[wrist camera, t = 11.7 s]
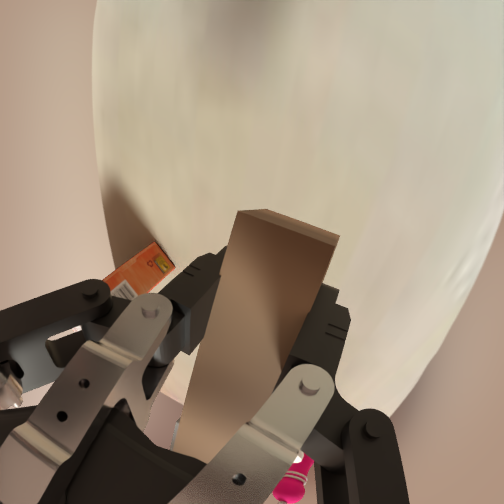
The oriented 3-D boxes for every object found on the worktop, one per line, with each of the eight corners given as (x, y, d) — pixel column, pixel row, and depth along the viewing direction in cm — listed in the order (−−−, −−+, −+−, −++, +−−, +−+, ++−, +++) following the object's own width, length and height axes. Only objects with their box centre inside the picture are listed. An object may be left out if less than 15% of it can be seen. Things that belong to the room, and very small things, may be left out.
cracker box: (178, 269, 48) (128, 304, 60) (155, 239, 47) (111, 282, 60) (120, 322, 37) (84, 345, 50) (91, 287, 36) (64, 320, 49)
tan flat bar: (243, 200, 12) (209, 200, 9) (364, 245, 11) (368, 259, 8) (170, 464, 17) (147, 491, 14) (235, 497, 15) (218, 527, 12)
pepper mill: (311, 414, 53) (274, 501, 37) (338, 429, 52) (306, 514, 37) (292, 424, 57) (255, 501, 42) (317, 438, 57) (285, 514, 41)
